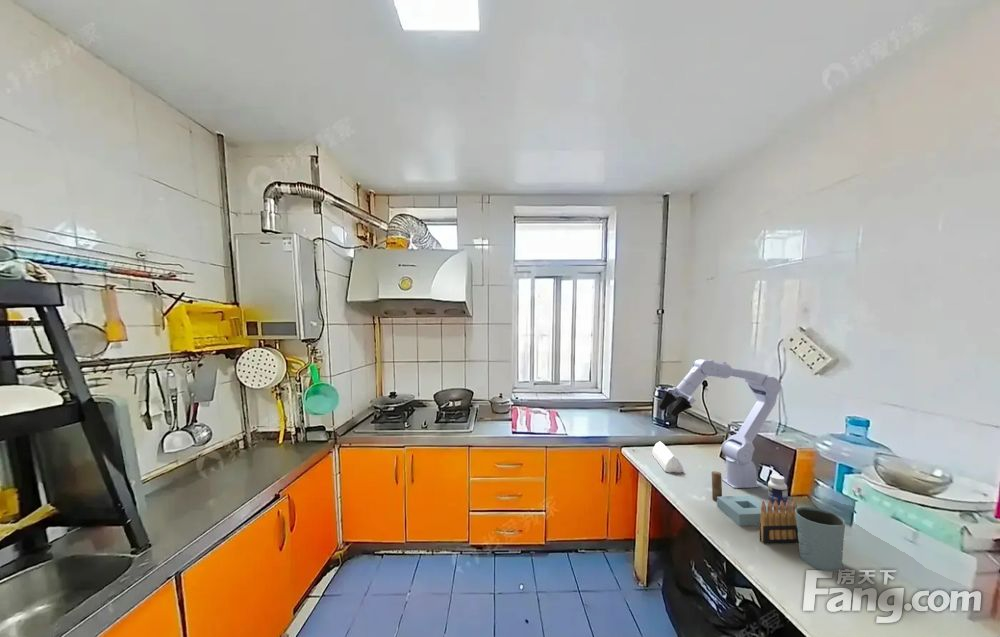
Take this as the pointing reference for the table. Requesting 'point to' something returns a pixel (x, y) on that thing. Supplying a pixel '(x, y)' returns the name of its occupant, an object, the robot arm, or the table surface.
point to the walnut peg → (716, 485)
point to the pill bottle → (777, 490)
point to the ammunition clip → (778, 524)
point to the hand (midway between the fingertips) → (666, 411)
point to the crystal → (666, 458)
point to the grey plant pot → (820, 538)
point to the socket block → (741, 509)
